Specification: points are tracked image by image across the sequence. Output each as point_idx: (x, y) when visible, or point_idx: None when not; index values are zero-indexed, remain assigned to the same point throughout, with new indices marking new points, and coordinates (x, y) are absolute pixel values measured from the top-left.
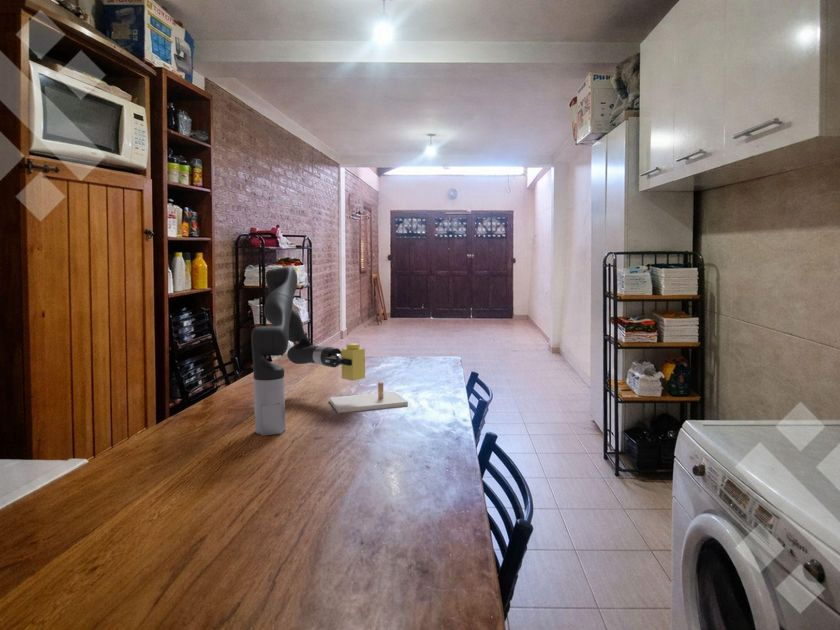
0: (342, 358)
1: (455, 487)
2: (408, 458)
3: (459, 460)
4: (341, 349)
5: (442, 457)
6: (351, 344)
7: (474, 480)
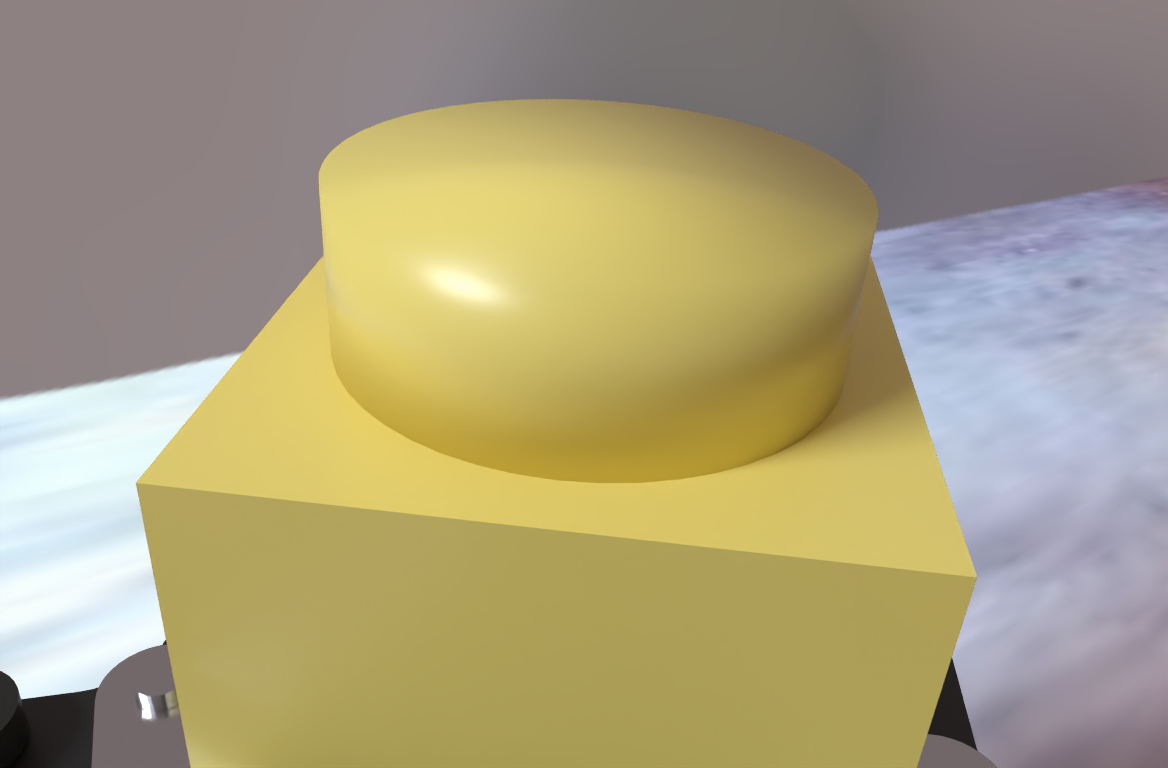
0: (958, 745)
1: (1101, 221)
2: (1095, 333)
3: (927, 246)
4: (967, 601)
5: (959, 276)
6: (670, 186)
7: (1012, 207)
